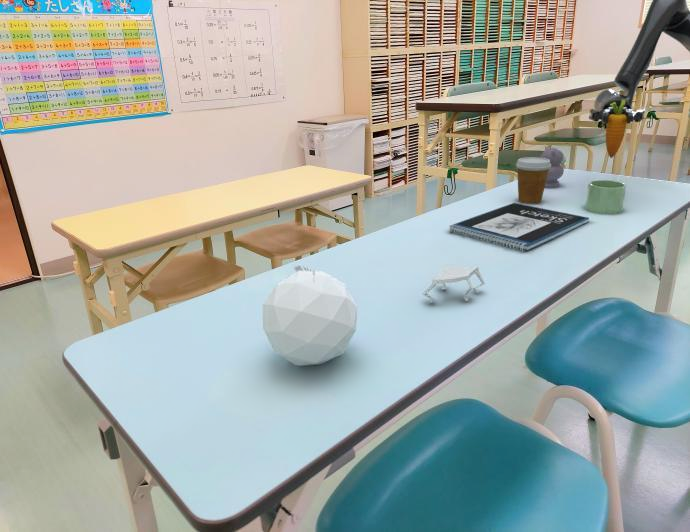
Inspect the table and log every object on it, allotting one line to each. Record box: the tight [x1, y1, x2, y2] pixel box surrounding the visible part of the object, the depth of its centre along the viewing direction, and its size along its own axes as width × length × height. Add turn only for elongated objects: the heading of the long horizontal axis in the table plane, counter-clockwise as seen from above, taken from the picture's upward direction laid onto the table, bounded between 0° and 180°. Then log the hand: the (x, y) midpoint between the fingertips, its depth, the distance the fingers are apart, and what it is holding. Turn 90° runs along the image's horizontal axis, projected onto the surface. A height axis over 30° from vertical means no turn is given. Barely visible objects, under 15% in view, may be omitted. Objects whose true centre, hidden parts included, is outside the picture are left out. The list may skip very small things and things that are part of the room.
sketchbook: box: [448, 202, 590, 252], centre depth 130 cm, size 22×30×2 cm
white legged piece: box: [422, 265, 486, 304], centre depth 95 cm, size 12×8×5 cm
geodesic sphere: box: [262, 265, 358, 367], centre depth 77 cm, size 15×14×14 cm
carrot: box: [605, 99, 628, 159], centre depth 137 cm, size 5×5×15 cm
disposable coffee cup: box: [515, 156, 551, 205], centre depth 149 cm, size 10×10×12 cm
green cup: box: [585, 179, 627, 215], centre depth 140 cm, size 9×9×7 cm
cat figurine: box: [540, 145, 565, 189], centre depth 165 cm, size 8×8×12 cm
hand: (618, 119), depth 134 cm, fingers closed on carrot, 4 cm apart
